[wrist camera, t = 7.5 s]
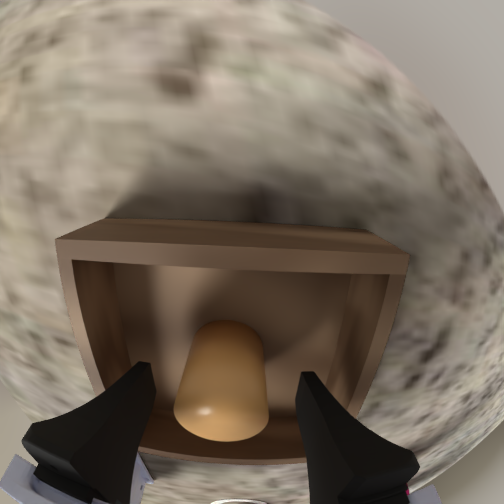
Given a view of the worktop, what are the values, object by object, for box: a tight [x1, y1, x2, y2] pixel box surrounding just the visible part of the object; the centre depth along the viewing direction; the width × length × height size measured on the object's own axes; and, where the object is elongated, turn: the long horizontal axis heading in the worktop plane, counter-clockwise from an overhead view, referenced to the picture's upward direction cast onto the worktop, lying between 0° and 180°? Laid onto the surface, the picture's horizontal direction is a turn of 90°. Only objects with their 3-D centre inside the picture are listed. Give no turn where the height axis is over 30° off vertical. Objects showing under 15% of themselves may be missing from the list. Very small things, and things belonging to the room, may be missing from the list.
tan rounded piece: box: [173, 320, 269, 442], centre depth 12 cm, size 4×4×5 cm
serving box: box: [55, 219, 410, 465], centre depth 13 cm, size 14×14×4 cm
